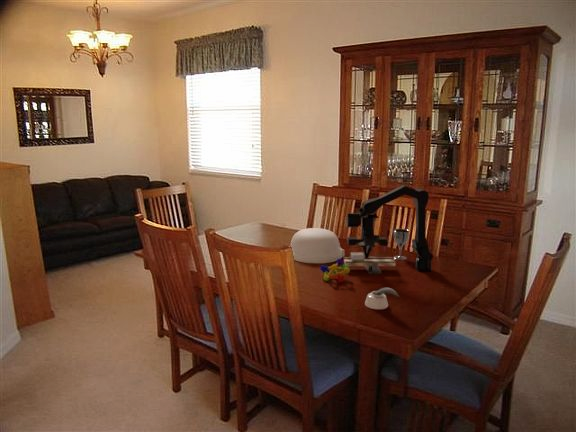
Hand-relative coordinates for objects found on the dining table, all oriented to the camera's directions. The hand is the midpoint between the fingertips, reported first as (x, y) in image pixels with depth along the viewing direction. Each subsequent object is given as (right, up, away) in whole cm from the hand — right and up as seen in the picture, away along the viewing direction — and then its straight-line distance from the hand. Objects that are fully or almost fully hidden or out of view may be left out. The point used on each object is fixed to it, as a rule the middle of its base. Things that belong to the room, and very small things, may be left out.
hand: (366, 258), depth 222 cm
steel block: (-4, -1, 0) cm, 5 cm away
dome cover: (-23, -1, +26) cm, 35 cm away
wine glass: (+21, -2, +21) cm, 30 cm away
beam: (+1, -4, +1) cm, 4 cm away
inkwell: (-1, -16, -44) cm, 47 cm away
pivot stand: (+3, -6, +1) cm, 7 cm away
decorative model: (-17, -9, -12) cm, 23 cm away
